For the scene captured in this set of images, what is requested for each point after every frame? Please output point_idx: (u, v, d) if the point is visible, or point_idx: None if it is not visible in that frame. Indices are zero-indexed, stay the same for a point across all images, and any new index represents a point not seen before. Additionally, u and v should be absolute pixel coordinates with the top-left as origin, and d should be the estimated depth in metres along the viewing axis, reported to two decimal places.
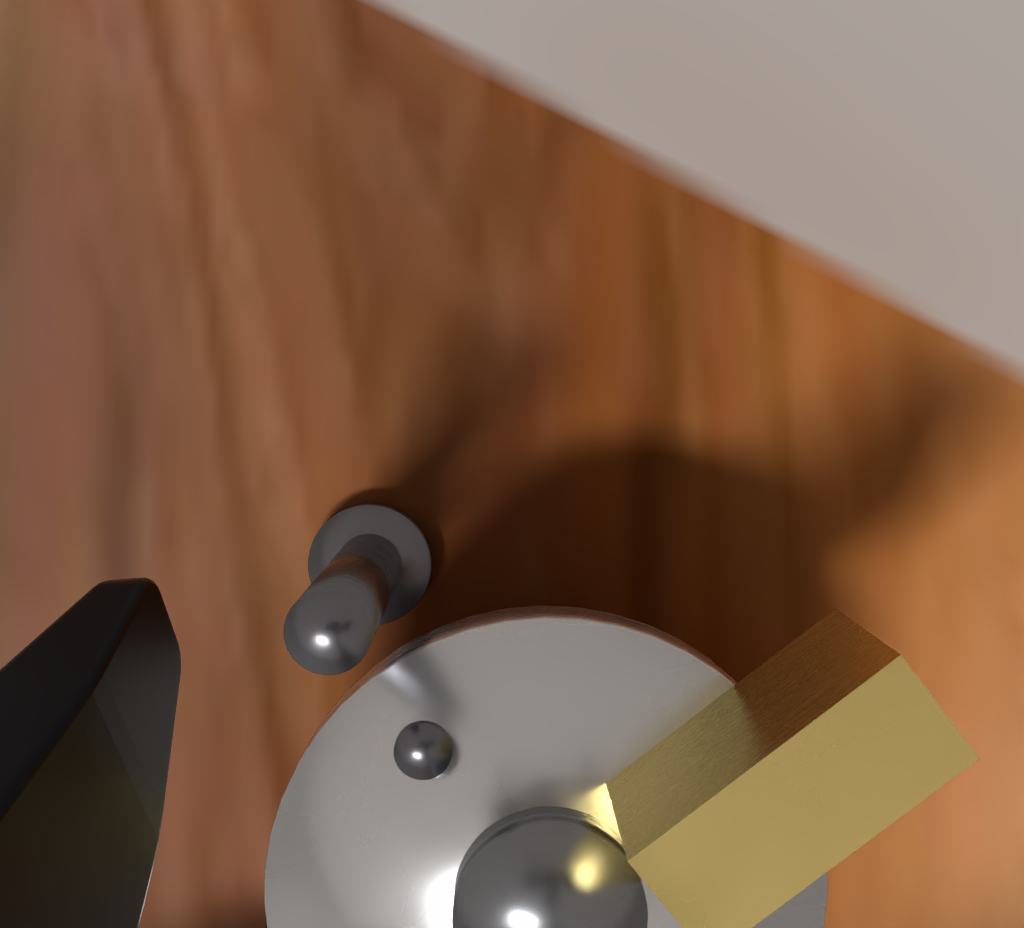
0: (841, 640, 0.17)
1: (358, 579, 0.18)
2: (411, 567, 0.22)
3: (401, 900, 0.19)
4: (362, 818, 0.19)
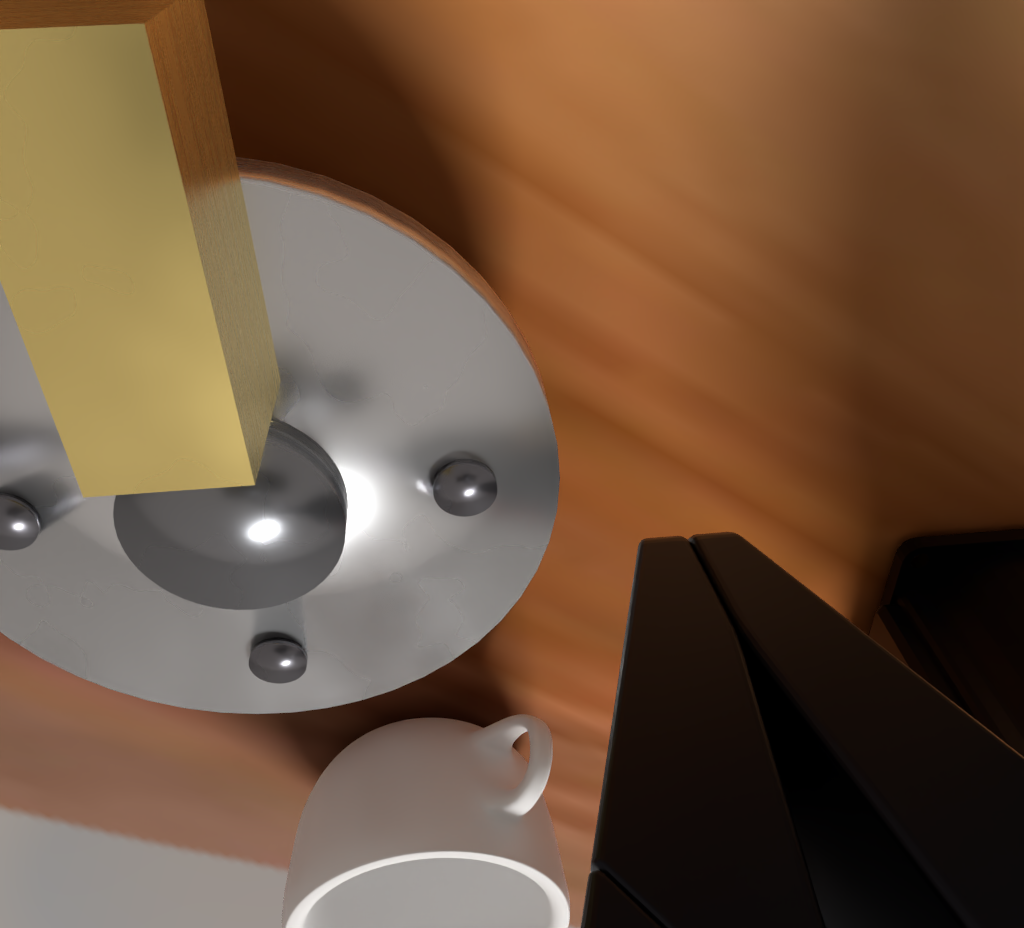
0: None
1: None
2: None
3: (169, 605, 0.18)
4: (62, 594, 0.18)
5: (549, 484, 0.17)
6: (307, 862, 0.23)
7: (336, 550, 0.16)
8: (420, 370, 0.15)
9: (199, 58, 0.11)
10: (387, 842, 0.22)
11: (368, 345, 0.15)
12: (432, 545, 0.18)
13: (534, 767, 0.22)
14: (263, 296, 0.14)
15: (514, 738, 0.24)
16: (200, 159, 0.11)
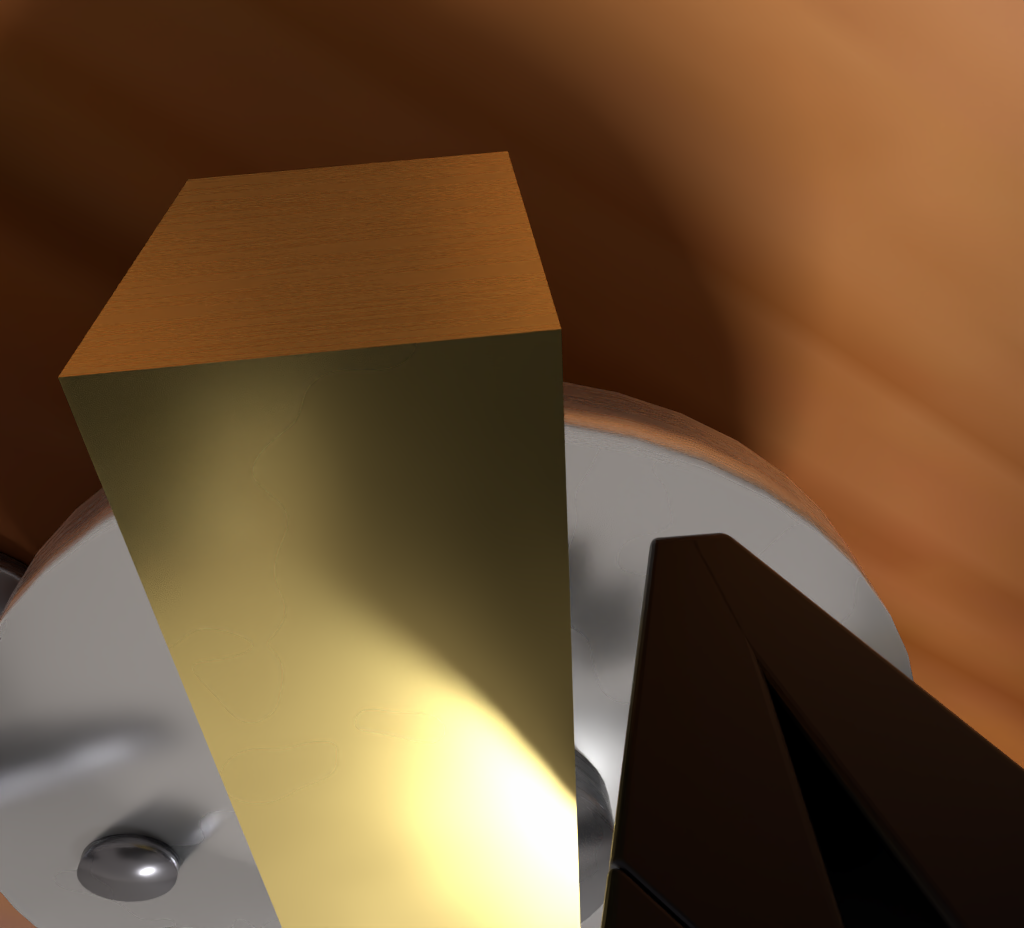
0: None
1: None
2: None
3: None
4: None
5: None
6: None
7: (602, 894, 0.11)
8: None
9: None
10: None
11: None
12: None
13: None
14: None
15: None
16: None
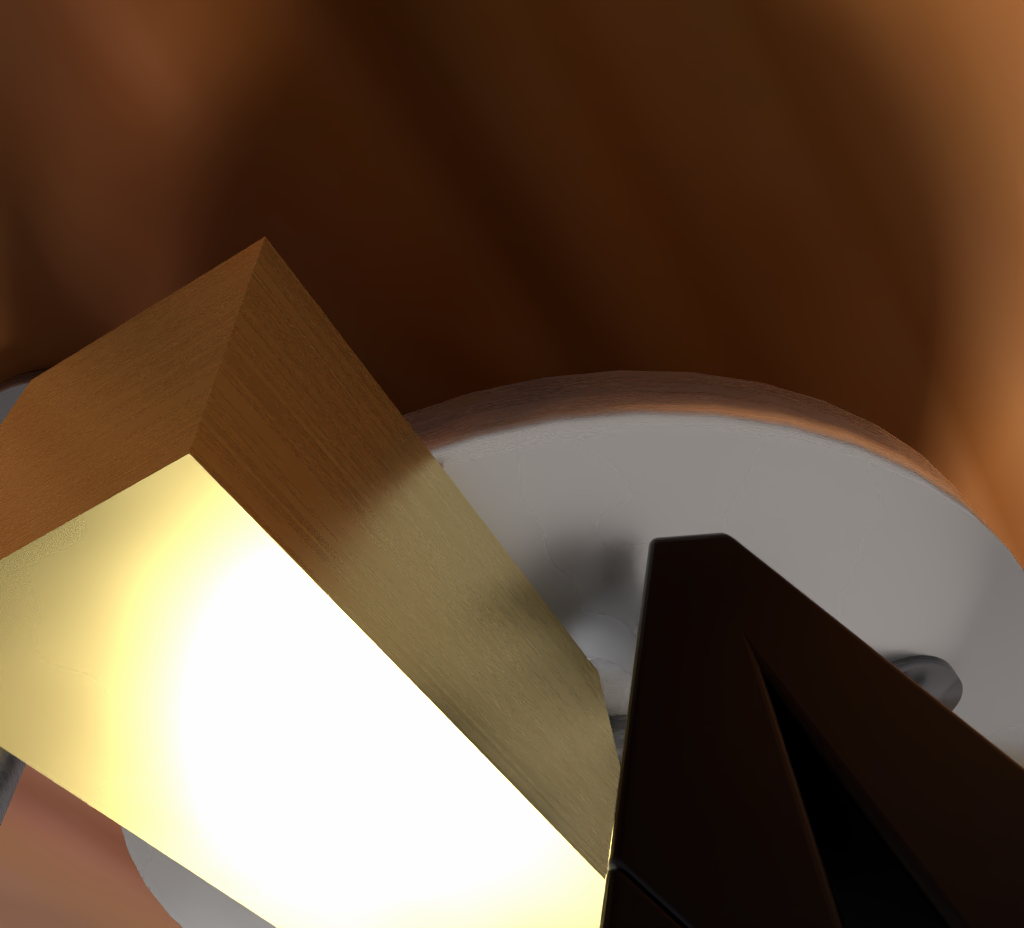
0: None
1: None
2: None
3: None
4: None
5: None
6: None
7: None
8: (793, 583, 0.10)
9: (314, 364, 0.07)
10: None
11: None
12: None
13: None
14: (534, 591, 0.09)
15: None
16: (382, 540, 0.06)
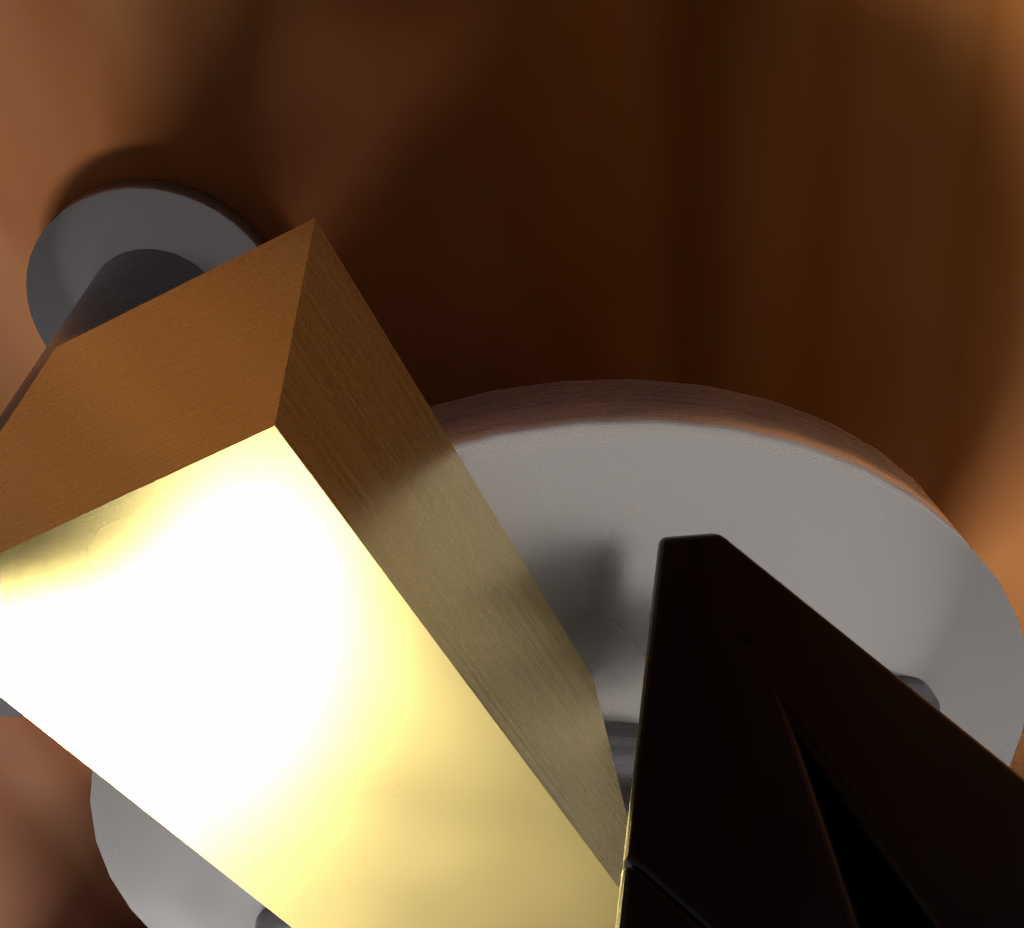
0: None
1: None
2: None
3: None
4: None
5: (1012, 668, 0.11)
6: None
7: None
8: None
9: (360, 348, 0.07)
10: None
11: None
12: None
13: None
14: (540, 592, 0.09)
15: None
16: (425, 529, 0.06)
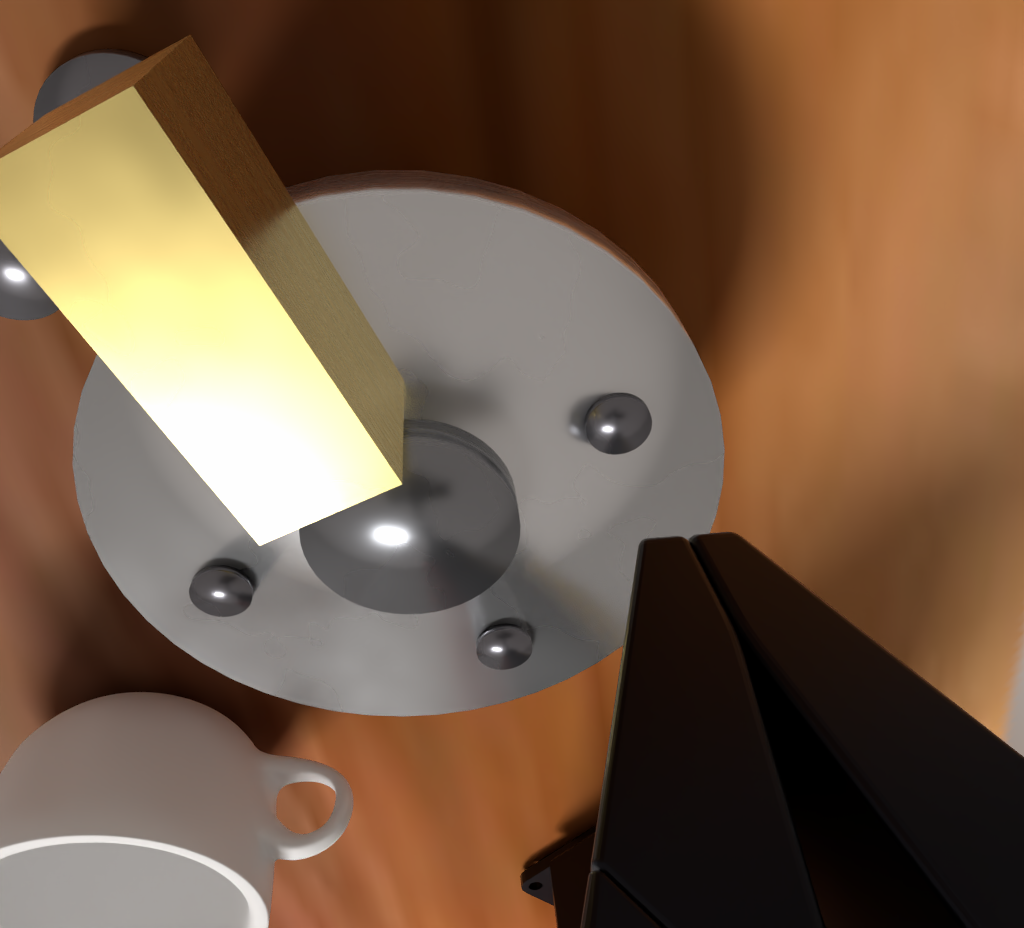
0: None
1: None
2: None
3: (387, 624, 0.19)
4: (293, 641, 0.19)
5: (702, 391, 0.16)
6: (63, 800, 0.20)
7: (514, 525, 0.16)
8: (530, 322, 0.15)
9: (211, 103, 0.12)
10: (173, 828, 0.21)
11: (472, 317, 0.15)
12: (607, 491, 0.17)
13: (335, 826, 0.23)
14: (357, 306, 0.14)
15: (300, 781, 0.25)
16: (240, 195, 0.11)
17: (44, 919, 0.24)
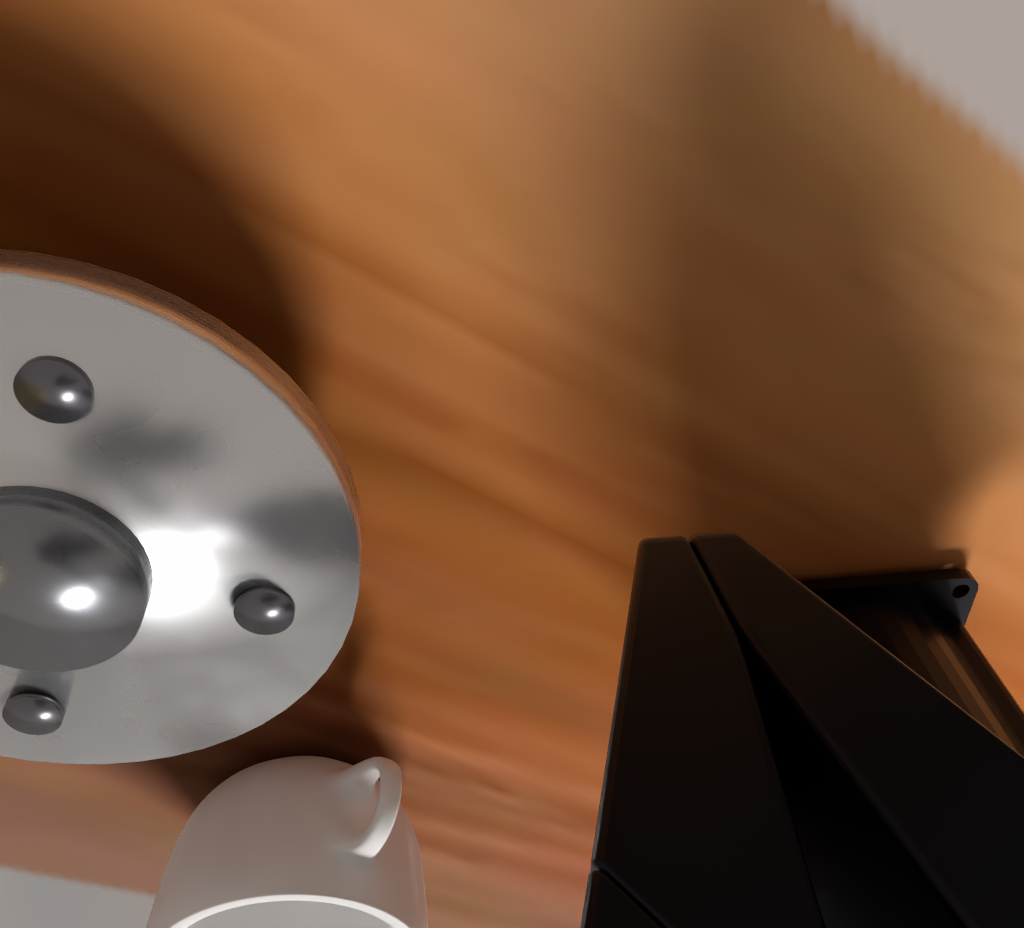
0: None
1: None
2: None
3: (166, 655, 0.19)
4: (131, 711, 0.20)
5: (70, 305, 0.14)
6: (163, 902, 0.23)
7: (75, 534, 0.16)
8: None
9: None
10: (234, 885, 0.22)
11: None
12: (139, 440, 0.16)
13: (380, 811, 0.23)
14: None
15: (374, 779, 0.25)
16: None
17: None
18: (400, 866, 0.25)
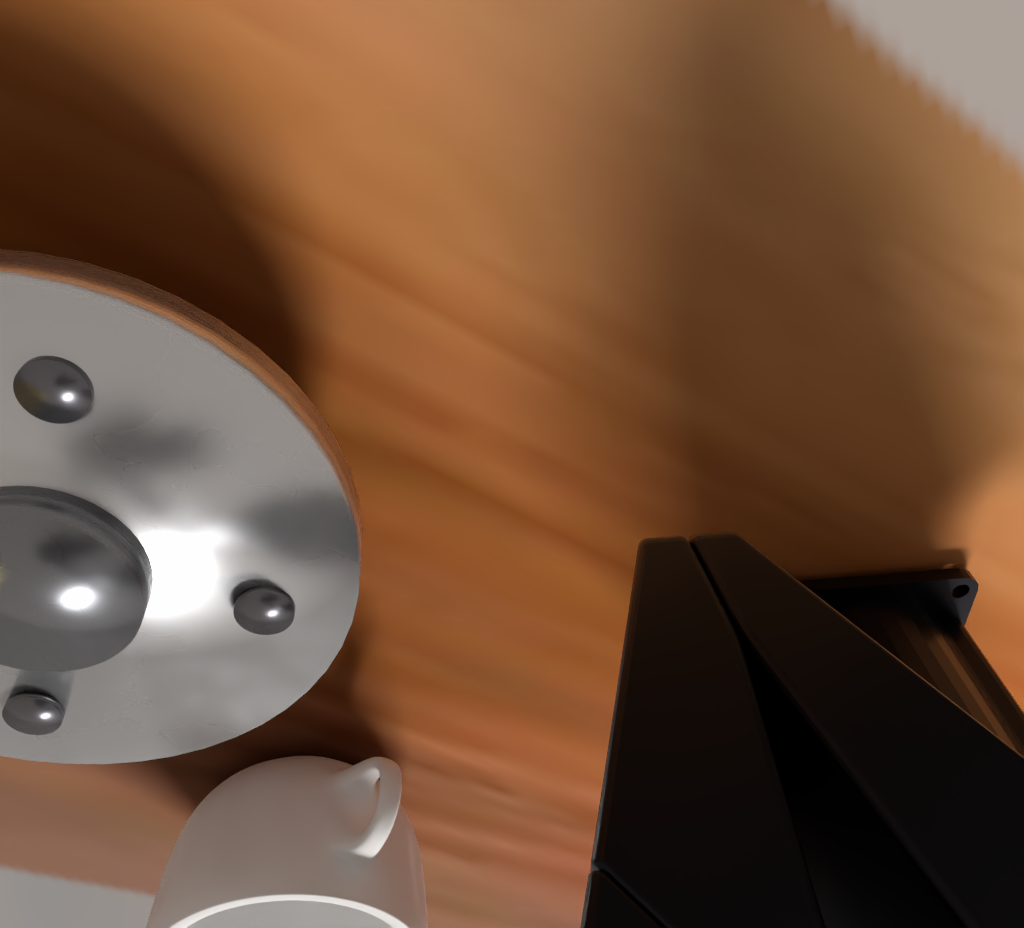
0: None
1: None
2: None
3: (166, 655, 0.19)
4: (131, 711, 0.20)
5: (70, 305, 0.14)
6: (162, 902, 0.23)
7: (75, 534, 0.16)
8: None
9: None
10: (234, 885, 0.22)
11: None
12: (139, 440, 0.16)
13: (379, 811, 0.23)
14: None
15: (374, 779, 0.25)
16: None
17: None
18: (400, 866, 0.25)
